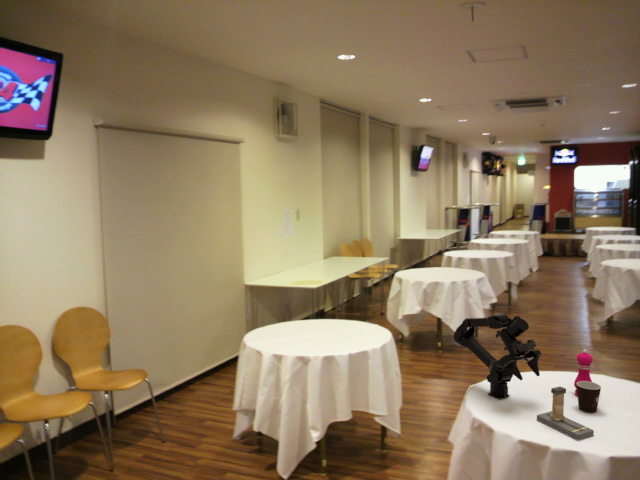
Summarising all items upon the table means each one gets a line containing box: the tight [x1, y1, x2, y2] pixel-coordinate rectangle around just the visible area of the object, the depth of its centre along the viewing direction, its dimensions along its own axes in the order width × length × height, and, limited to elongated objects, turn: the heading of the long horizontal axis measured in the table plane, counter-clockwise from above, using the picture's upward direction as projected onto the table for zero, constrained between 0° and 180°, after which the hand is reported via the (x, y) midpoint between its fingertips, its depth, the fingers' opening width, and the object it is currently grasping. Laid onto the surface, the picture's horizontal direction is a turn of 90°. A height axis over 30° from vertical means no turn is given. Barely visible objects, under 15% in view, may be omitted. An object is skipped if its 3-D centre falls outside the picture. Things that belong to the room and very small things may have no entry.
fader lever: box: [550, 386, 567, 421], centre depth 195 cm, size 3×5×12 cm, turn 115°
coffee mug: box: [577, 381, 602, 414], centre depth 209 cm, size 12×9×10 cm
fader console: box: [536, 410, 595, 441], centre depth 193 cm, size 18×8×2 cm, turn 25°
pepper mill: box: [573, 349, 594, 397], centre depth 222 cm, size 7×7×20 cm
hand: (530, 377), depth 207 cm, fingers open, 9 cm apart
